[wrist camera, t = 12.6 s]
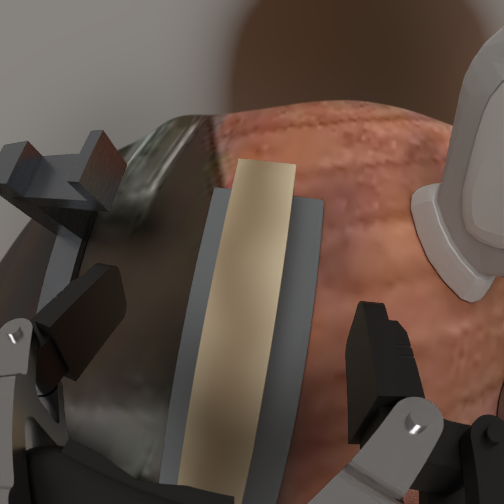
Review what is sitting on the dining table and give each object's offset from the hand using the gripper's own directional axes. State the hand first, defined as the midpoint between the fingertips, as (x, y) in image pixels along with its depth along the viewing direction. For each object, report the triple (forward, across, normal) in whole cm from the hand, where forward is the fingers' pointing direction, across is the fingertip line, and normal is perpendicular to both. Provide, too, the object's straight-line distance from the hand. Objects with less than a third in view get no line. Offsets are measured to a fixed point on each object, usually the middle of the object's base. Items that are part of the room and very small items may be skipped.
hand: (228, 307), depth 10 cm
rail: (+6, +1, +8) cm, 10 cm away
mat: (+5, +1, +9) cm, 11 cm away
